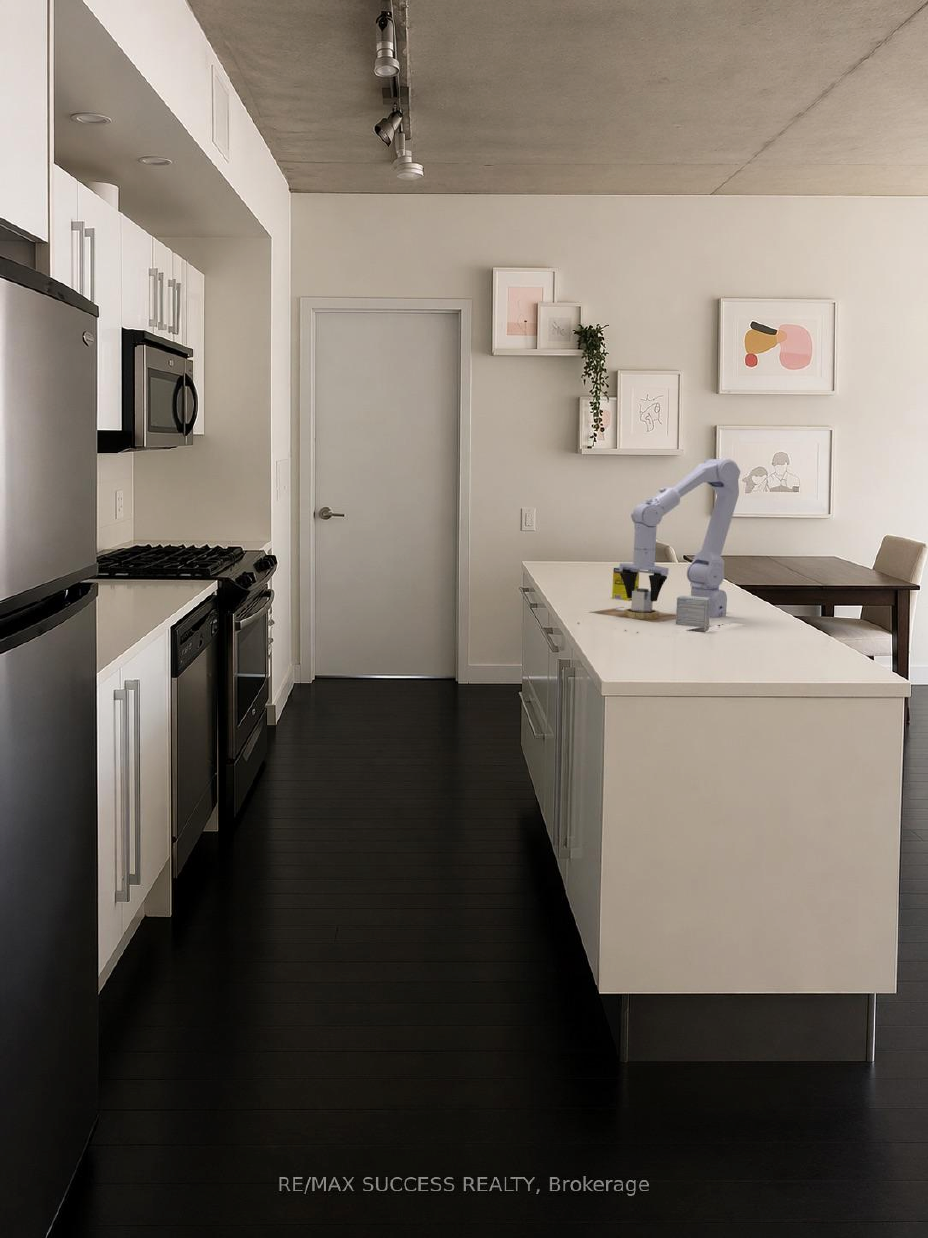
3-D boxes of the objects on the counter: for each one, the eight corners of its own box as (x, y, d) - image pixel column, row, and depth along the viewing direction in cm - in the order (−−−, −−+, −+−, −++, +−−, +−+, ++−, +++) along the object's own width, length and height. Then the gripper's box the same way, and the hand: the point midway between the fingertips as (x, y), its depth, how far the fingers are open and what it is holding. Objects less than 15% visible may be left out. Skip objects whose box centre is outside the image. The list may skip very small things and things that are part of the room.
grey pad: (649, 611, 317) (649, 609, 317) (635, 613, 312) (635, 612, 312) (629, 608, 322) (629, 606, 322) (614, 610, 317) (614, 609, 317)
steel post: (651, 616, 307) (653, 589, 305) (643, 618, 304) (644, 590, 303) (639, 615, 309) (640, 587, 308) (630, 616, 307) (632, 588, 305)
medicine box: (709, 630, 296) (711, 597, 295) (705, 632, 292) (707, 599, 291) (679, 627, 300) (681, 595, 298) (674, 630, 296) (676, 597, 294)
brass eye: (665, 617, 307) (665, 611, 307) (645, 620, 300) (646, 614, 300) (637, 613, 313) (637, 607, 313) (617, 616, 306) (617, 610, 306)
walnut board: (688, 621, 309) (689, 616, 309) (655, 627, 298) (655, 622, 298) (622, 612, 324) (622, 606, 324) (588, 617, 313) (588, 612, 312)
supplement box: (628, 605, 338) (630, 569, 336) (611, 603, 341) (612, 567, 340) (638, 603, 342) (640, 567, 341) (621, 601, 346) (622, 565, 344)
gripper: (613, 547, 306) (611, 597, 308) (658, 552, 296) (656, 603, 298) (629, 546, 311) (626, 595, 313) (674, 550, 301) (671, 601, 303)
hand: (641, 599), depth 306 cm, fingers open, 7 cm apart
